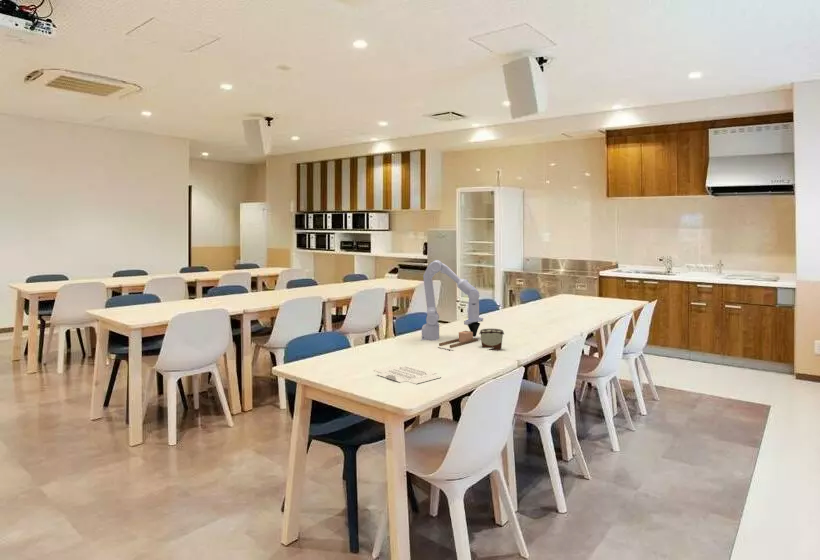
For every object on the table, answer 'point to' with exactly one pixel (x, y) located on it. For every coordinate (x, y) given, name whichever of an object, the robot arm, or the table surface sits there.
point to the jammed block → (465, 336)
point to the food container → (491, 338)
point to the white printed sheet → (407, 374)
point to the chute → (456, 343)
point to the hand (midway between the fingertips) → (473, 336)
